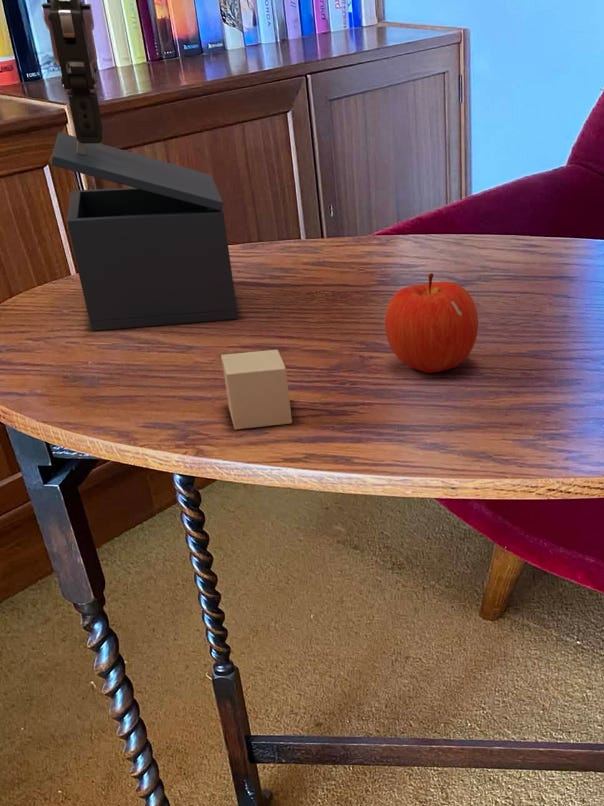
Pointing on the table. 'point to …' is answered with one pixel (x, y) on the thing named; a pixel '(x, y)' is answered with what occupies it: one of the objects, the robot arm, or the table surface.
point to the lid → (136, 171)
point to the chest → (149, 259)
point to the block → (256, 389)
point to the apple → (432, 325)
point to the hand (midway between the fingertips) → (90, 137)
